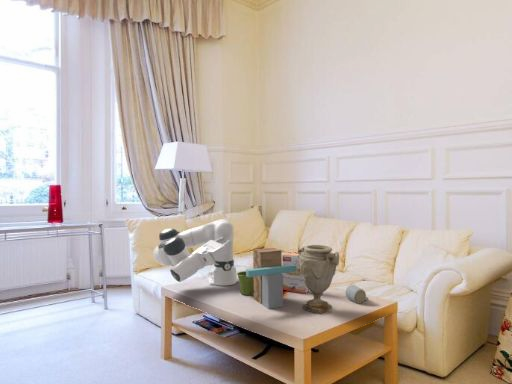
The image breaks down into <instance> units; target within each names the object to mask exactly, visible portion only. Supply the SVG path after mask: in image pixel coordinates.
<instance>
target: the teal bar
mask: <svg viewBox="0 0 512 384" xmlns="http://www.w3.org/2000/svg"><path fill="white" fill-rule="evenodd" d="M245 271H246V276H247V277H255V276H263V275H272V274H280V273H282V274H283V273H288V272H296V265H284V266H275V267H266V268H257V269H253V268H249V269H245Z"/></svg>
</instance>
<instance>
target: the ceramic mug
mask: <svg viewBox="0 0 512 384" xmlns="http://www.w3.org/2000/svg"><path fill="white" fill-rule="evenodd" d="M345 297H346V299H348V300H350V301H353V302H354V303H357V304H362V303H363V302H365V301H366V302H368V301H369V297H367V294H366V291H365V290H364V289H362V288H360V287H358V286H356V285H355V284H350V285H348V286H347V287H346V289H345Z"/></svg>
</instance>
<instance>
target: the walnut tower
mask: <svg viewBox="0 0 512 384" xmlns="http://www.w3.org/2000/svg"><path fill="white" fill-rule="evenodd" d="M282 254H283V253H282V250H281V249H279V248H276V247H268V248H258V249H257V248H256V249H253V250H252V259H253V261H252V262H253V263H252V265H253V267H252V269H257V268H266V267H275V266H282ZM281 274H283V273H281ZM253 300H255V301H256V302H258V303H259V304H260V305H262V276H255V277H254V294H253Z"/></svg>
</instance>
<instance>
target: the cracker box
mask: <svg viewBox="0 0 512 384" xmlns="http://www.w3.org/2000/svg"><path fill="white" fill-rule="evenodd" d="M298 255H299V254H298V253H294V252H285V253H282V266H284V265H296V272H288V273H282V274H283V288H286V290H287V291H286V292H292V293H297V294H298V293H299V294H307V293H308V292H309V291H310V290H309V289H308V288H307V287H306V285H305V283H304V279H303V275H302V274H301V272H300V265H299V256H298Z"/></svg>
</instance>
